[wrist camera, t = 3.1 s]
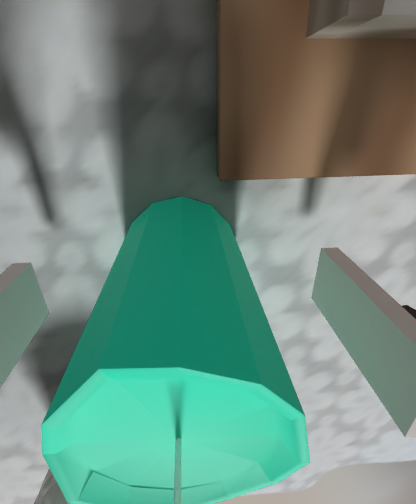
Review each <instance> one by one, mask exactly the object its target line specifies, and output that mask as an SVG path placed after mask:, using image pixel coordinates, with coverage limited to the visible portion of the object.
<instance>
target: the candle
mask: <svg viewBox="0 0 416 504" xmlns="http://www.w3.org/2000/svg"><path fill="white" fill-rule="evenodd" d="M42 454H43V456H44V458H45V460H46V462H47V464H48V466H49V468H50V470H51V472H52V474H53V475H54V477H55V479H56V481H57V483H58V485H59V487H60V489H61V491H62V493H63V495H64V497H65V498H66V500H67V502H68V503H70V504H214V503H218V502H221V501H225V500H228V499H231V498H234V497H237V496H240V495H243V494H246V493H249V492H252V491H255V490H258V489H261V488H264V487H267V486H270V485H273V484H276V483H279V482H280V481H282V480H283V479H285V478H287V477H288V476H290V475H291V474H293V473H294V472H296V471H298V470H299V469H301V468H302V467H304V466H305V465H307V464H309V463H310V456H309V447H308V439H307V430H306V421H305V415H304V412H303V409H302V407H301V404H300V402H299V399H298V397H297V394H296V392H295V389H294V387H293V384H292V381H291V379H290V376H289V374H288V371H287V369H286V366H285V364H284V361H283V359H282V356H281V353H280V351H279V348H278V346H277V343H276V341H275V338H274V336H273V333H272V331H271V328H270V325H269V323H268V320H267V318H266V315H265V313H264V310H263V308H262V305H261V303H260V300H259V297H258V295H257V292H256V290H255V287H254V285H253V282H252V280H251V277H250V275H249V272H248V269H247V267H246V264H245V262H244V259H243V257H242V254H241V252H240V249H239V247H238V244H237V241H236V239H235V236H234V234H233V231H232V229H231V226H230V225H229V223H228V222H227V221H226V220H225V219H224V218H223V217H222V216H221V215H220V214H219V213H218V212H217V211H216V209H215V208H214V207H213V206H212V205H210V204H207V203H203V202H200V201H196V200H193V199H190V198H186V197H183V196H181V197H177V198H172V199H168V200H164V201H159V202H155V203H152V204H151V205H150V206H149V207H148V208H147V209H146V210H145V211H144V212H143V213H142V214H140V215H139V216H138V217H137V218H136V219H135V220H134V221H133V222H132V224H131V226H130V228H129V230H128V233H127V235H126V237H125V239H124V242H123V244H122V246H121V248H120V250H119V253H118V255H117V257H116V259H115V262H114V264H113V266H112V268H111V271H110V273H109V275H108V277H107V280H106V282H105V284H104V286H103V288H102V291H101V293H100V295H99V297H98V300H97V302H96V304H95V306H94V309H93V311H92V313H91V315H90V318H89V320H88V322H87V324H86V327H85V329H84V331H83V333H82V335H81V338H80V340H79V342H78V344H77V347H76V349H75V351H74V353H73V356H72V358H71V360H70V362H69V365H68V367H67V369H66V371H65V373H64V376H63V378H62V380H61V382H60V385H59V387H58V389H57V391H56V394H55V396H54V398H53V400H52V403H51V405H50V407H49V409H48V412H47V414H46V416H45V418H44V420H43V423H42Z"/></svg>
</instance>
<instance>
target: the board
mask: <svg viewBox="0 0 416 504" xmlns="http://www.w3.org/2000/svg"><path fill="white" fill-rule="evenodd" d="M403 174H416V0H217V176H218V178H219V180H220V181H228V180H257V179H286V178H315V177H344V176H373V175H403Z"/></svg>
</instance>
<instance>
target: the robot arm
mask: <svg viewBox="0 0 416 504" xmlns="http://www.w3.org/2000/svg"><path fill="white" fill-rule="evenodd" d="M312 299H313V300H314V302H315V303H316V305H317V306H318V308H319V309H320V311H321V312H322V314H323V315H324V317H325V318H326V320H327V321H328V323H329V324H330V326H331V327H332V329H333V330H334V332H335V333H336V335H337V336H338V338H339V339H340V341H341V342H342V344H343V345H344V347H345V348H346V350H347V351H348V353H349V354H350V356H351V357H352V359H353V360H354V362H355V363H356V365H357V366H358V368H359V369H360V371H361V372H362V374H363V375H364V377H365V378H366V380H367V381H368V383H369V384H370V386H371V387H372V389H373V390H374V392H375V393H376V394H377V396H378V397H379V399H380V400H381V402H382V403H383V405H384V406H385V408H386V409H387V411H388V412H389V414H390V415H391V417H392V418H393V420H394V421H395V423H396V424H397V426H398V427H399V429H400V430H401V432H402V433H403V435H404V436H405V437H412V436H416V310H415V309H413V308H411V307H409V306H408V305H404V306H401V305H400V304H399V303H398V302H396V301H395V300H394V299H393V298H392V297H391V296H390V295H389V294H388V293H387V292H385V291H384V290H383V289H382V288H381V287H380V286H379V285H378V284H377V283H376V282H375V281H373V280H372V279H371V278H370V277H369V276H368V275H367V274H366V273H365V272H364V271H363V270H361V269H360V268H359V267H358V266H357V265H356V264H355V263H354V262H353V261H352V260H351V259H349V258H348V257H347V256H346V255H345V254H344V253H343V252H342V251H341V250H340V249H339V248H321V252H320V257H319V262H318V267H317V272H316V278H315V283H314V288H313V293H312ZM48 315H49V311H48V308H47V305H46V303H45V300H44V297H43V294H42V291H41V289H40V286H39V283H38V280H37V278H36V275H35V272H34V269H33V266H32V264H31V263H15V264H12V265H10V266H9V267H8V268H7V269H6V270H5V271H4V272H3V273H2V274H1V275H0V388H1V386H2V385H3V383H4V382H5V380H6V378H7V377H8V375H9V374H10V372H11V371H12V369H13V368H14V366H15V365H16V363H17V362H18V360H19V359H20V357H21V356H22V354H23V353H24V351H25V350H26V348H27V347H28V345H29V343H30V342H31V340H32V339H33V337H34V336H35V334H36V333H37V331H38V330H39V328H40V327H41V325H42V324H43V322H44V321H45V319H46V318H47V316H48Z"/></svg>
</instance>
